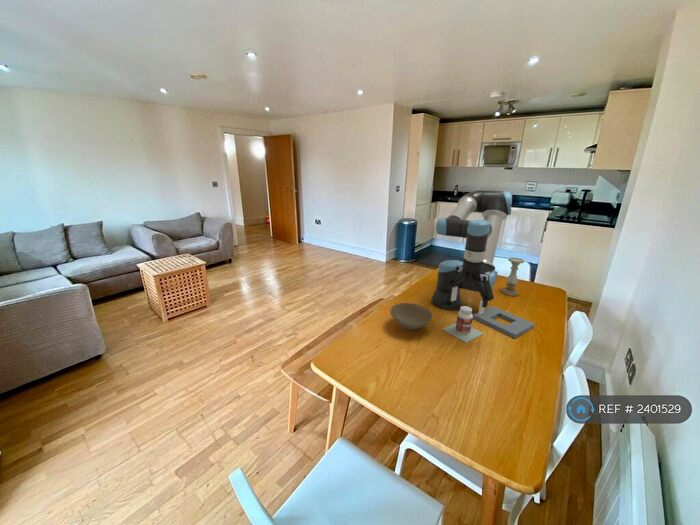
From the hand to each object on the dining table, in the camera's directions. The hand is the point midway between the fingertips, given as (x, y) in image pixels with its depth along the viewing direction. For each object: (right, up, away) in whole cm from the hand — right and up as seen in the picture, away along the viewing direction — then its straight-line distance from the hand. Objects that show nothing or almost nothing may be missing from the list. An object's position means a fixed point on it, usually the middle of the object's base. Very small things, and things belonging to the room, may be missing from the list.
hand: (466, 306), depth 118 cm
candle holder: (+42, +1, +41) cm, 59 cm away
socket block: (+21, -9, +11) cm, 25 cm away
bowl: (-23, -11, +7) cm, 26 cm away
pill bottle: (0, -11, +3) cm, 12 cm away
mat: (0, -12, +3) cm, 12 cm away
